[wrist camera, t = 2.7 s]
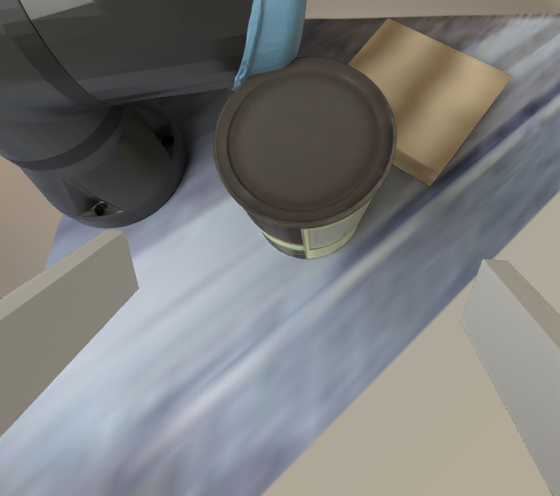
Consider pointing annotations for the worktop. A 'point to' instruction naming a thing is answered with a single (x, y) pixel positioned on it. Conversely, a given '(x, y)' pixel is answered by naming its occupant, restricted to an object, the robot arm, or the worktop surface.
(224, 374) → the worktop surface
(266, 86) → the coffee can
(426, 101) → the chopping board
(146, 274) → the worktop surface
